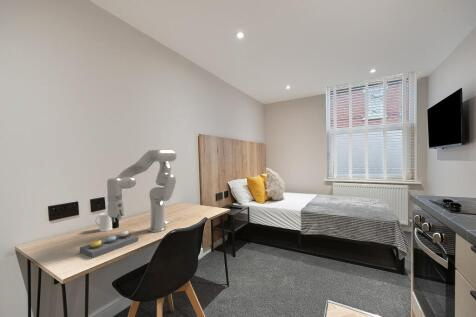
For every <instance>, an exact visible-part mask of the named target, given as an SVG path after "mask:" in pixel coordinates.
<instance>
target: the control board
mask: <svg viewBox="0 0 476 317" xmlns="http://www.w3.org/2000/svg"><path fill="white" fill-rule="evenodd" d="M115 236H116V240H115V241H113V242H106V238H105V239H101V241H102V243H101V246H98V247H91V243H89V244H86V245H82V246H80V247H79V253H80V254H82V255H84V256H86V257H88V258H90V257H91V258H90V259H92V258H93V259H95V258H97V257H101V256H103V255H105V254H108V253H110V252H114V251H116V250H120V249H122V248H124V247H127V246H129V245H133V244H134V243H137V242H139V236H137V235H134V234H130V233H129V234H128V235H126V236H120V234H117V235H115Z"/></svg>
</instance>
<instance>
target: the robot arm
mask: <svg viewBox="0 0 476 317" xmlns="http://www.w3.org/2000/svg"><path fill="white" fill-rule="evenodd" d="M176 159H177V153H176V151H174V150H169V149H168V150H167V149H151V150H148V151H146V152H145V153H144V154H143V155H142V156H141V157H140V158H139V159H138V161H136V162H135V163H134V164H131V165H129V166H128V167H126V168H124V169H123V170H122V171H121V172H120V173H119V175H117V176H116V177H112V178H108V179H107V181H106V186H107V187H106V188H107V212H108V216H110V218H111V221H112V228H113V229H112V230H115V229H119V227H120V224H119V223H120V220H122V217H124V215H125V209H124V202H123V195H122V194H123V192H122V191H123V190H122V189H126V190H127V189H132V188H134V187H135V186H136V184H137V181H136V179H135V178H134V177H135V176H137V175H140V174H142V173H144V172H146V171H148V170H149V168H150V167H151V166H152V165H153V164H154V163H155V162H158V164H159V170H158V173H157V175H156V179H155V183H156V185H157V186H156V187H153V188H151V189H150V191H149V193H148V194H149V195H148V196H149V202H150V227H149V228H148V231H149V232H150V233H158V232H159V233H160V232H163V231H165V230H166V229H167V225H169V224H170V221H168V220H167V221H165V202H169V200H171V198H172V196H173V193H174V190H175V186H176V184H177V179H176V176H175V175H174V174H171V171H172V165H171V162H174V161H175V160H176ZM158 186H159V187H158Z"/></svg>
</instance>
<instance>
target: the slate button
mask: <svg viewBox="0 0 476 317" xmlns="http://www.w3.org/2000/svg"><path fill="white" fill-rule="evenodd" d="M116 236H117V235H109V236H106V237H105V239H106V242H113V241H115V240H116Z"/></svg>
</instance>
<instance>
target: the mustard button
mask: <svg viewBox="0 0 476 317" xmlns="http://www.w3.org/2000/svg"><path fill="white" fill-rule="evenodd" d="M101 240H102V239H101ZM101 240H100V239H99V240H98V239H97V240H96V239H95V240H93V241H91V242H90V244H91V247H98V246H101V243H102V241H101Z"/></svg>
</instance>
